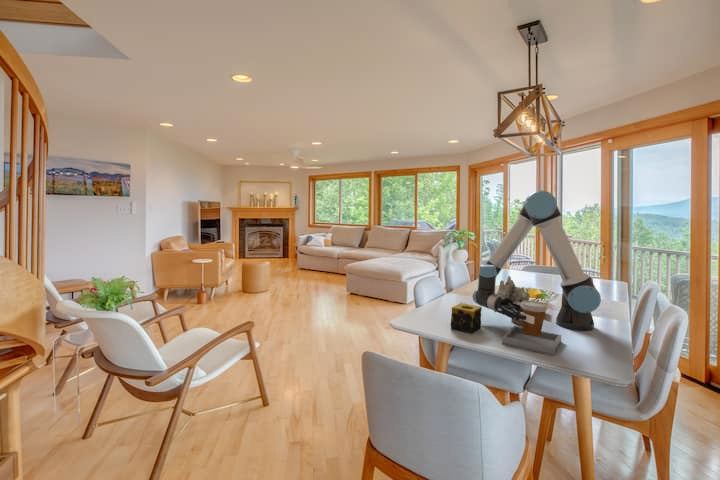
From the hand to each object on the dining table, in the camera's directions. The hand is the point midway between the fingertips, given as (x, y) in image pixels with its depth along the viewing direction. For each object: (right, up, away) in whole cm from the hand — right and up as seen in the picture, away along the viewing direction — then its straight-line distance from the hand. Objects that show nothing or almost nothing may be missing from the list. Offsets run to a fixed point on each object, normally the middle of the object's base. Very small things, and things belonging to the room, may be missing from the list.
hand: (542, 319), depth 141 cm
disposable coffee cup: (-2, -7, +5) cm, 9 cm away
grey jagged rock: (+16, -6, +67) cm, 69 cm away
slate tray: (-2, -10, +5) cm, 12 cm away
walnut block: (+5, -8, +31) cm, 32 cm away
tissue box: (-23, -9, +20) cm, 32 cm away
